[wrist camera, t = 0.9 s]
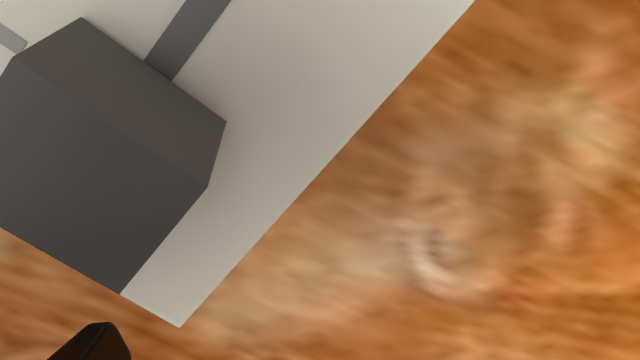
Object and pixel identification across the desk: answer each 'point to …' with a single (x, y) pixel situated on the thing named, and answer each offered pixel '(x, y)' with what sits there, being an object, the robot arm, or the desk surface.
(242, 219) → the block
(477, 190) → the desk surface
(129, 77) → the block
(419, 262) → the desk surface
